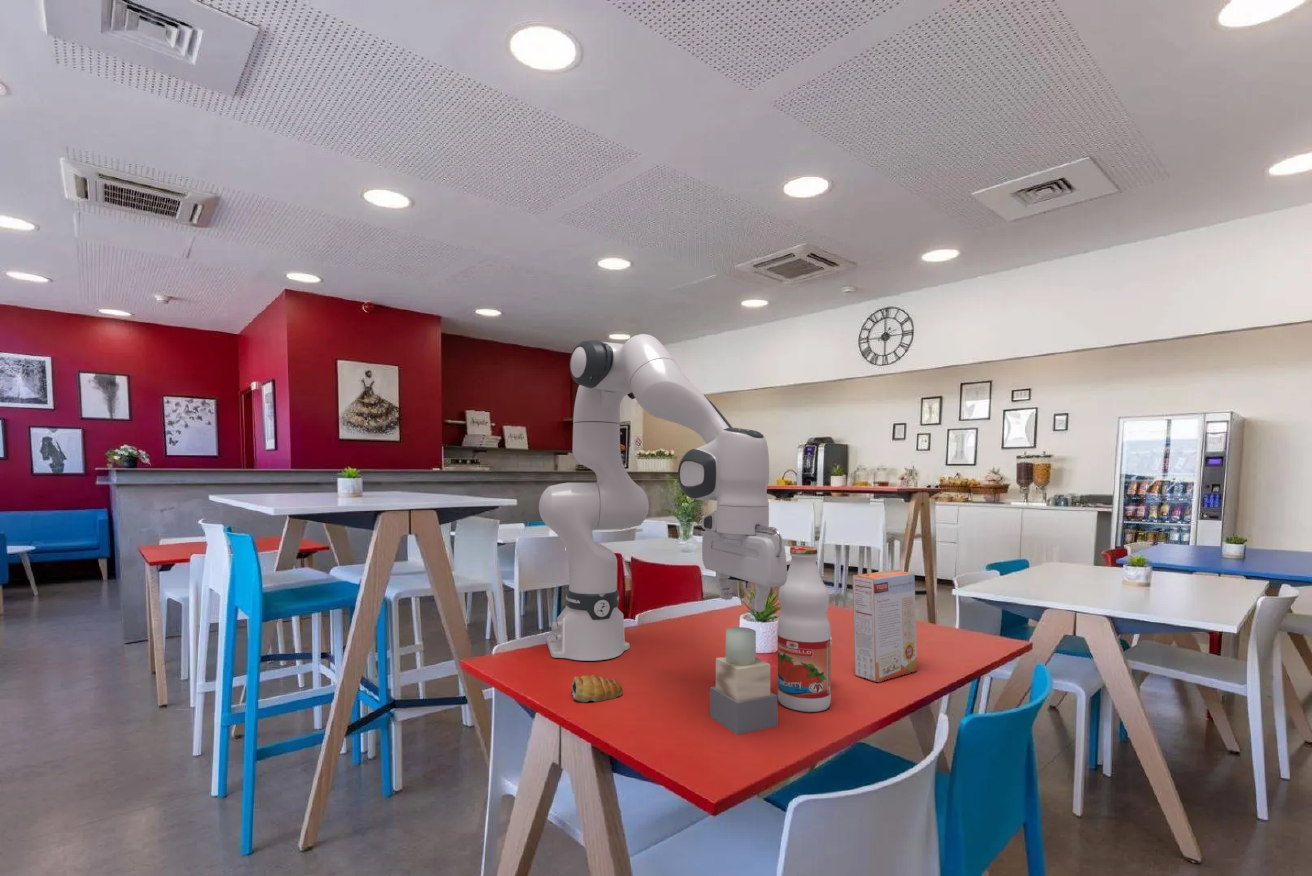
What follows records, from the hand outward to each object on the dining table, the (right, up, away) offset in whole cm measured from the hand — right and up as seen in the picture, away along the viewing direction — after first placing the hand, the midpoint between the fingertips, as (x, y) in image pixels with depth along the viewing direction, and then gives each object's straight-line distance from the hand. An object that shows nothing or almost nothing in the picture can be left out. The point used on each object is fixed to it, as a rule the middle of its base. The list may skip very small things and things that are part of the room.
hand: (741, 604), depth 101 cm
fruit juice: (+12, -20, +7) cm, 24 cm away
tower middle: (0, -14, -1) cm, 14 cm away
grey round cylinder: (0, -9, -1) cm, 9 cm away
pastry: (-26, -20, +9) cm, 34 cm away
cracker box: (+34, -22, +24) cm, 47 cm away
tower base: (0, -19, -1) cm, 19 cm away
